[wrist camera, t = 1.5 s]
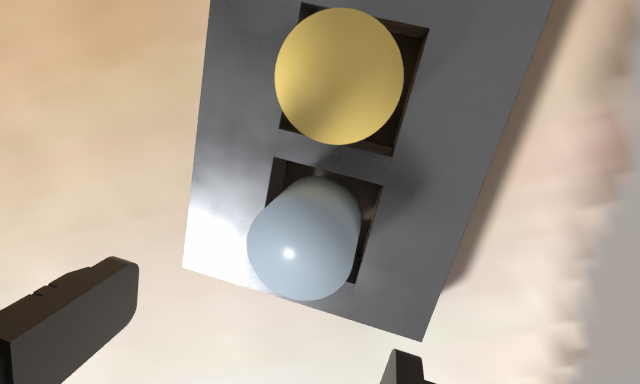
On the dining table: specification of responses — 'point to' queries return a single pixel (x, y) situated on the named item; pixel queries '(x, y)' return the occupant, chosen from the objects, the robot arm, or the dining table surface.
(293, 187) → the button blue
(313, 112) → the button mustard
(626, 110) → the dining table surface
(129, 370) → the dining table surface
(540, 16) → the panel
